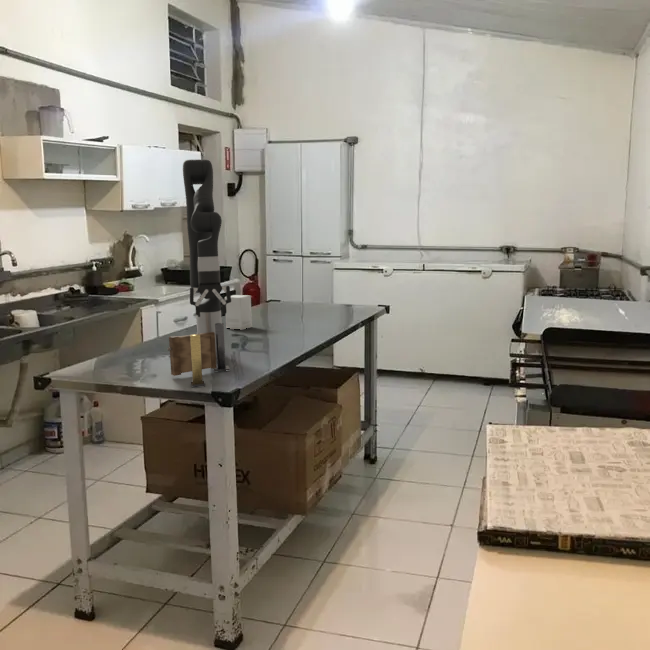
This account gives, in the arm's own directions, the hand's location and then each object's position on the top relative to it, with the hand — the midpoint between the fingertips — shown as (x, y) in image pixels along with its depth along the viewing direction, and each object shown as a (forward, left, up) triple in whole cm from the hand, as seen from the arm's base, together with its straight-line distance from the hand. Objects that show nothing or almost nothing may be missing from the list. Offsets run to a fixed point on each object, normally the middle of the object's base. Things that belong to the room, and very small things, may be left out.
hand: (211, 316), depth 244 cm
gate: (+15, -8, -16) cm, 23 cm away
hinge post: (+11, +2, -17) cm, 20 cm away
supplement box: (-72, +17, -17) cm, 76 cm away
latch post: (+30, -7, -17) cm, 35 cm away
